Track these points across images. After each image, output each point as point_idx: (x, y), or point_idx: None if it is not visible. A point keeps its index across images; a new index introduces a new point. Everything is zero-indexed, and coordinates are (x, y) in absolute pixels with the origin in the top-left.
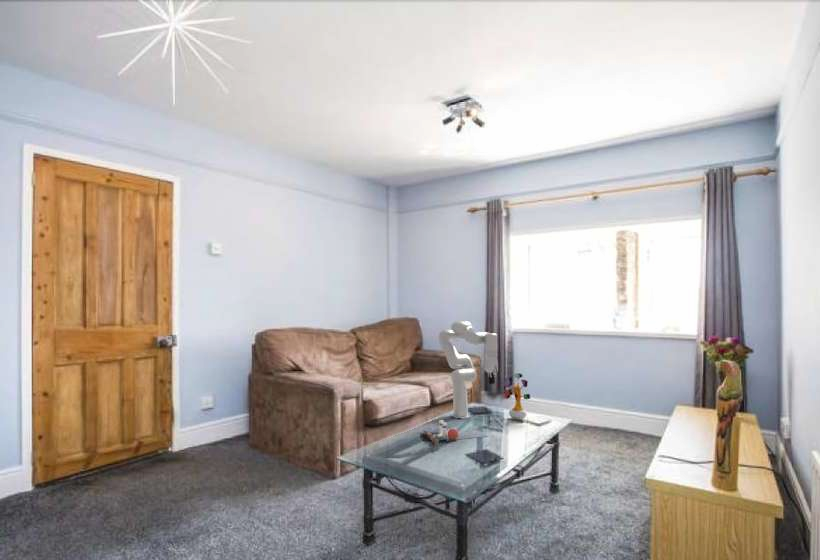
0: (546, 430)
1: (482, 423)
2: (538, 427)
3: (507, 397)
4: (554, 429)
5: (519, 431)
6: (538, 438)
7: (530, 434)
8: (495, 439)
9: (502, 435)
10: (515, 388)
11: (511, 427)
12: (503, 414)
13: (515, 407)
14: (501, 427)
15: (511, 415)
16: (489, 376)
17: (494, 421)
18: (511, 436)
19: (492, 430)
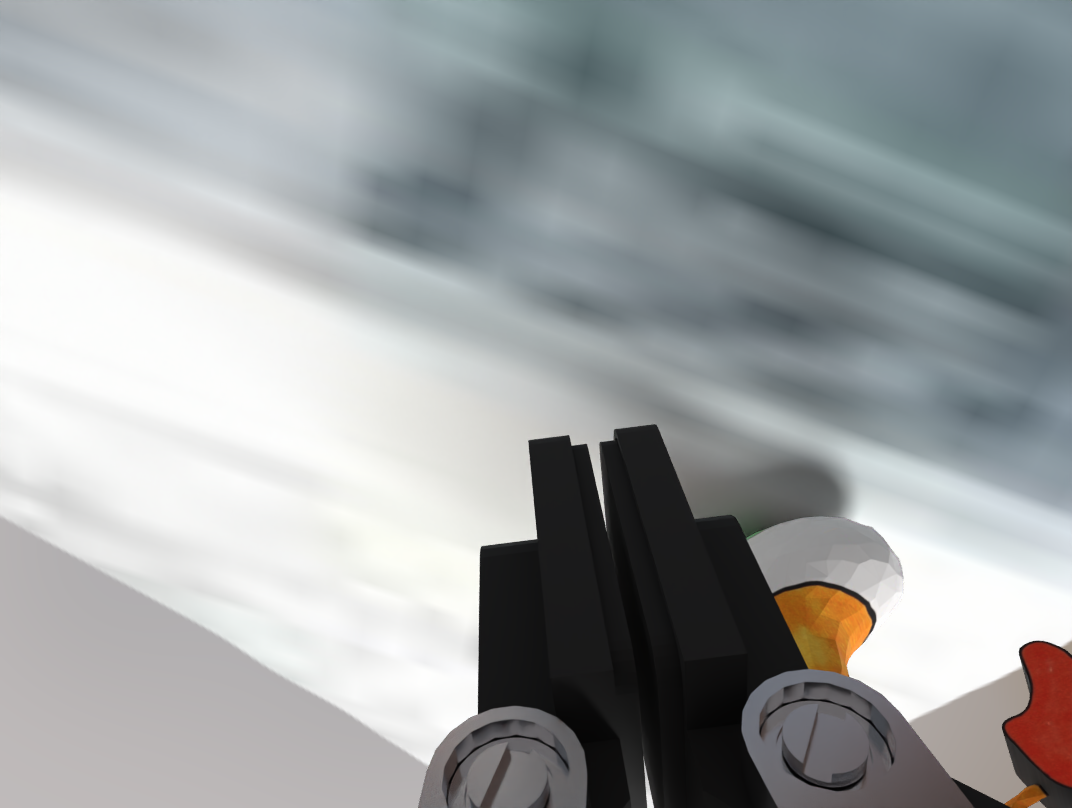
0: (350, 662)
1: (765, 96)
2: (454, 635)
3: (1024, 670)
4: (373, 725)
5: (341, 427)
6: (87, 515)
7: (226, 492)
8: (4, 7)
9: (191, 176)
10: None
11: (504, 398)
12: (1010, 489)
13: (797, 633)
14: (527, 287)
15: (792, 527)
16: (744, 726)
17: (793, 293)
18: (150, 272)
19: (419, 120)
